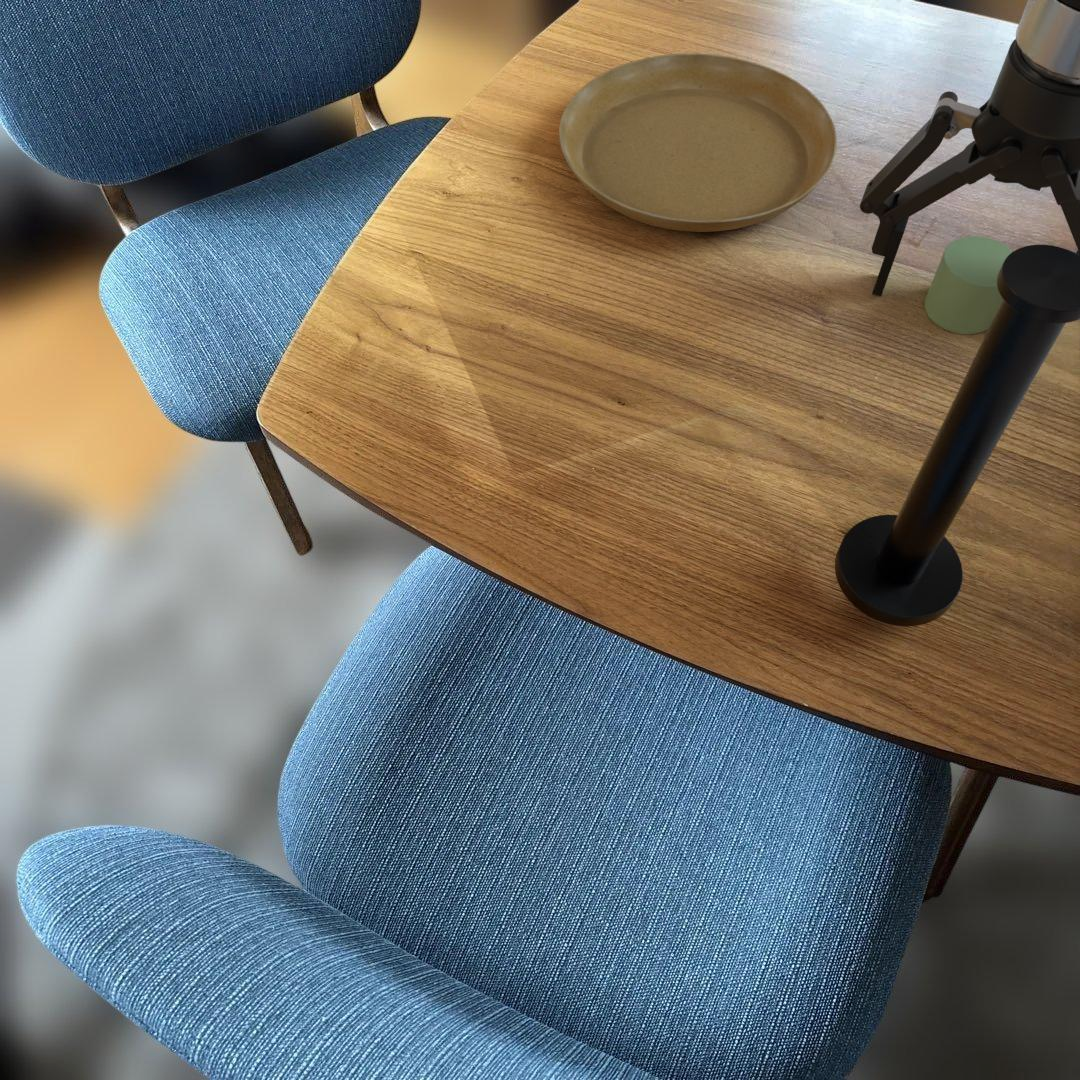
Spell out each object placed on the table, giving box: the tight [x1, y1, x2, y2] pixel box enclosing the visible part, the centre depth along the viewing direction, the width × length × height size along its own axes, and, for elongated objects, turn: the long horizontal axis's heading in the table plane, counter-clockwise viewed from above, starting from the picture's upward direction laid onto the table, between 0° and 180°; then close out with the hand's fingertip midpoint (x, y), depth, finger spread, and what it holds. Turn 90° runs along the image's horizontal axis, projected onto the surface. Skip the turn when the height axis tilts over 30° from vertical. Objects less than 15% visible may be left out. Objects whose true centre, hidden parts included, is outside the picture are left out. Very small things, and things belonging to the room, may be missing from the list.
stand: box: [834, 244, 1080, 627], centre depth 58 cm, size 8×8×26 cm
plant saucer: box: [558, 52, 838, 233], centre depth 91 cm, size 24×24×3 cm
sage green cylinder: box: [924, 235, 1014, 335], centre depth 80 cm, size 6×6×5 cm
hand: (961, 305), depth 82 cm, fingers open, 12 cm apart
